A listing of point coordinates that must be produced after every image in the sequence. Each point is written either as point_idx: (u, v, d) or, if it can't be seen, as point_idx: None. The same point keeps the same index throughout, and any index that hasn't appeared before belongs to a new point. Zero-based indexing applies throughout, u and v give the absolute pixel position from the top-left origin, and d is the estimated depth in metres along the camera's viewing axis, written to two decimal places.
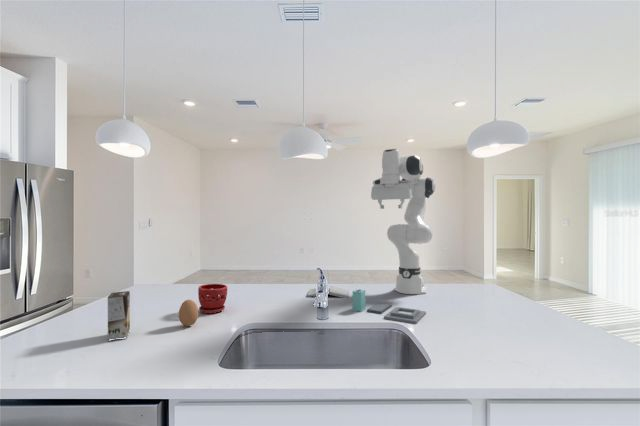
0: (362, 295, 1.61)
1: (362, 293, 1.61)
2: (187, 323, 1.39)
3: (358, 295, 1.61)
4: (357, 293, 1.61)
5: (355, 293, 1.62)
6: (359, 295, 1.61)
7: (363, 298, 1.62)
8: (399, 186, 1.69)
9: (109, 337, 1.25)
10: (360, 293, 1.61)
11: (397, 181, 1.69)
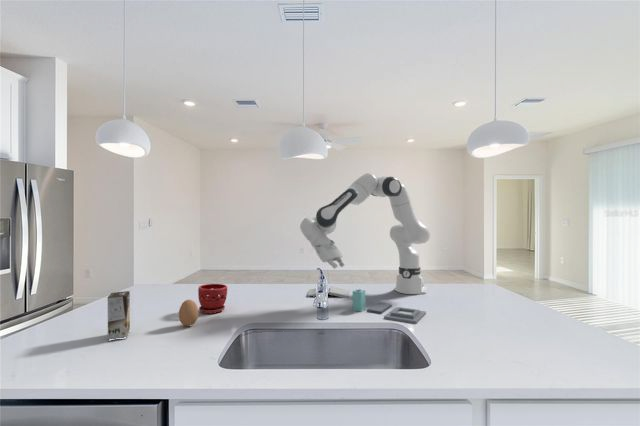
0: (362, 295, 1.61)
1: (362, 293, 1.61)
2: (187, 323, 1.39)
3: (358, 295, 1.61)
4: (357, 293, 1.61)
5: (355, 293, 1.62)
6: (359, 295, 1.61)
7: (363, 298, 1.62)
8: None
9: (109, 337, 1.25)
10: (360, 293, 1.61)
11: None
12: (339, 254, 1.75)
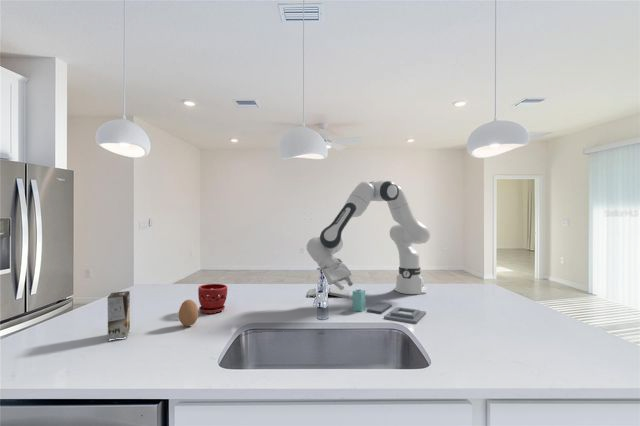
0: (362, 295, 1.61)
1: (362, 293, 1.61)
2: (187, 323, 1.39)
3: (358, 295, 1.61)
4: (357, 293, 1.61)
5: (355, 293, 1.62)
6: (359, 295, 1.61)
7: (363, 298, 1.62)
8: None
9: (109, 337, 1.25)
10: (360, 293, 1.61)
11: None
12: (347, 273, 1.74)
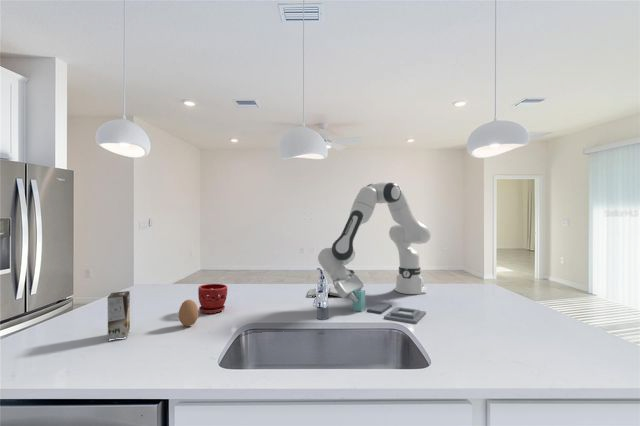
0: (362, 295, 1.61)
1: (362, 293, 1.61)
2: (187, 323, 1.39)
3: (358, 295, 1.61)
4: (357, 293, 1.61)
5: (355, 293, 1.62)
6: (359, 295, 1.61)
7: (363, 298, 1.62)
8: None
9: (109, 337, 1.25)
10: (360, 293, 1.61)
11: None
12: (360, 284, 1.70)
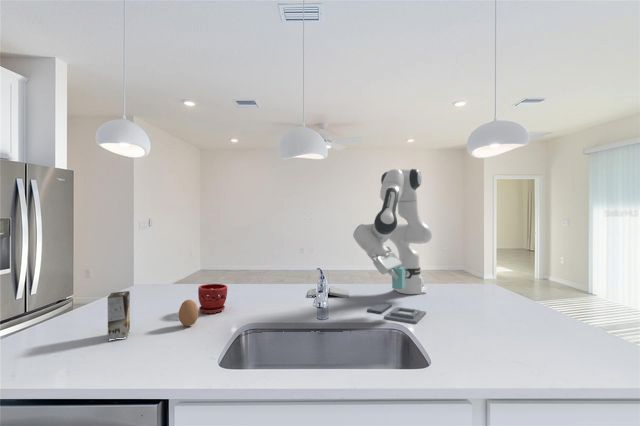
0: (402, 272, 1.52)
1: (402, 270, 1.52)
2: (187, 323, 1.39)
3: (398, 272, 1.52)
4: (397, 270, 1.52)
5: (395, 270, 1.53)
6: (399, 272, 1.52)
7: (403, 275, 1.53)
8: None
9: (109, 337, 1.25)
10: (400, 270, 1.52)
11: None
12: (398, 262, 1.61)
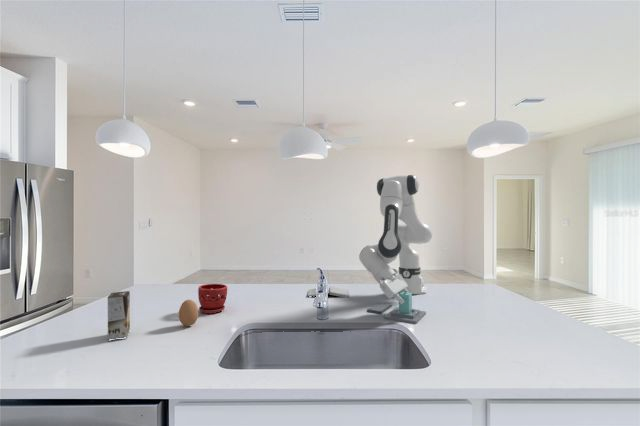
0: (409, 298, 1.51)
1: (409, 296, 1.51)
2: (187, 323, 1.39)
3: (405, 298, 1.51)
4: (404, 296, 1.51)
5: (402, 296, 1.52)
6: (406, 298, 1.51)
7: (410, 301, 1.52)
8: None
9: (109, 337, 1.25)
10: (407, 296, 1.50)
11: None
12: (404, 284, 1.60)
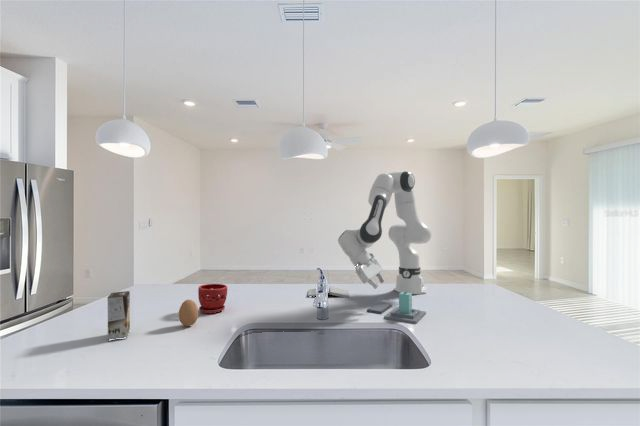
0: (409, 298, 1.51)
1: (409, 296, 1.51)
2: (187, 323, 1.39)
3: (405, 298, 1.51)
4: (404, 296, 1.51)
5: (402, 296, 1.52)
6: (406, 298, 1.51)
7: (410, 301, 1.52)
8: None
9: (109, 337, 1.25)
10: (407, 296, 1.50)
11: None
12: (379, 269, 1.67)
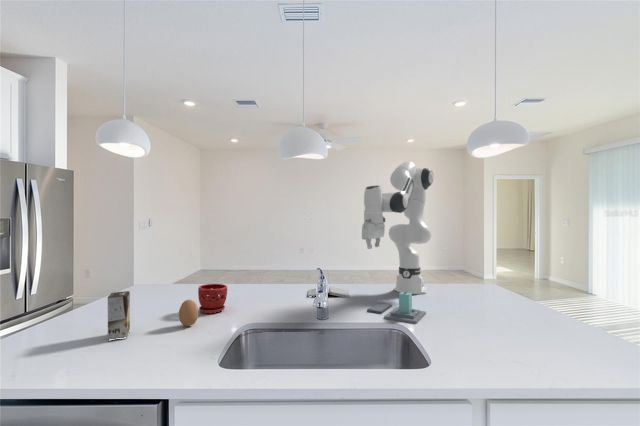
0: (409, 298, 1.51)
1: (409, 296, 1.51)
2: (187, 323, 1.39)
3: (405, 298, 1.51)
4: (404, 296, 1.51)
5: (402, 296, 1.52)
6: (406, 298, 1.51)
7: (410, 301, 1.52)
8: None
9: (109, 337, 1.25)
10: (407, 296, 1.50)
11: (366, 220, 1.63)
12: (381, 234, 1.71)
